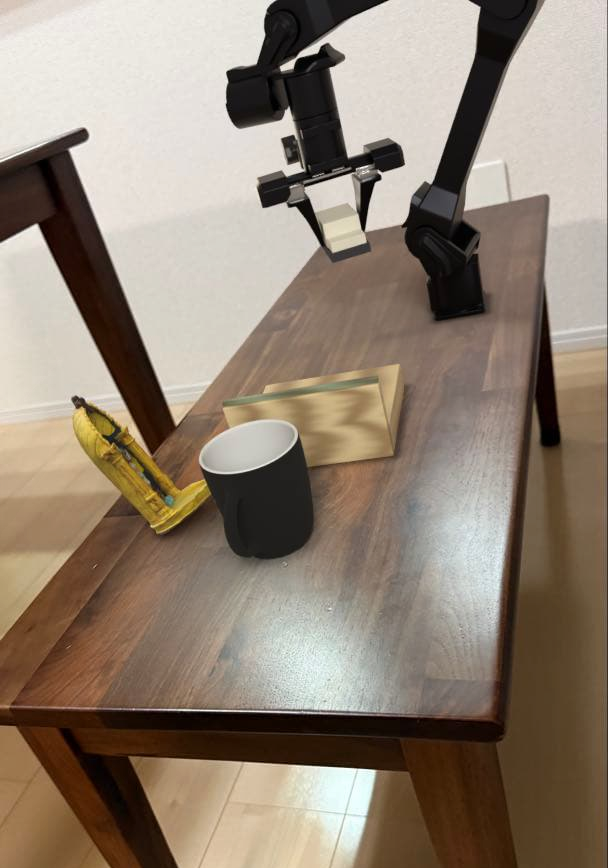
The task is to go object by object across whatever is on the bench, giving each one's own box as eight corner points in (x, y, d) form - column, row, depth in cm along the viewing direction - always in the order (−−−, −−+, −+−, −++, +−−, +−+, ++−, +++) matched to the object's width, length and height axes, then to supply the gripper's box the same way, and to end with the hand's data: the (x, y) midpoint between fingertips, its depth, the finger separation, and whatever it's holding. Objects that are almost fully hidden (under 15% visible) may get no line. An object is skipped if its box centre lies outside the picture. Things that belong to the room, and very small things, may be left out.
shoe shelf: (404, 387, 97) (390, 316, 92) (393, 456, 85) (376, 379, 80) (272, 407, 101) (252, 341, 96) (245, 475, 89) (220, 403, 84)
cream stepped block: (355, 232, 116) (348, 201, 114) (371, 251, 108) (364, 218, 106) (319, 243, 117) (311, 213, 114) (332, 263, 108) (324, 230, 106)
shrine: (106, 552, 84) (43, 420, 75) (138, 505, 90) (83, 378, 81) (210, 546, 80) (155, 406, 71) (236, 497, 86) (188, 363, 78)
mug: (252, 511, 83) (221, 421, 77) (337, 509, 79) (311, 415, 74) (204, 591, 74) (165, 496, 68) (298, 592, 71) (265, 492, 65)
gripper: (373, 85, 109) (396, 206, 118) (236, 127, 110) (268, 245, 118) (393, 93, 100) (416, 224, 109) (244, 139, 101) (278, 266, 109)
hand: (342, 239), depth 112 cm, fingers closed on cream stepped block, 5 cm apart
